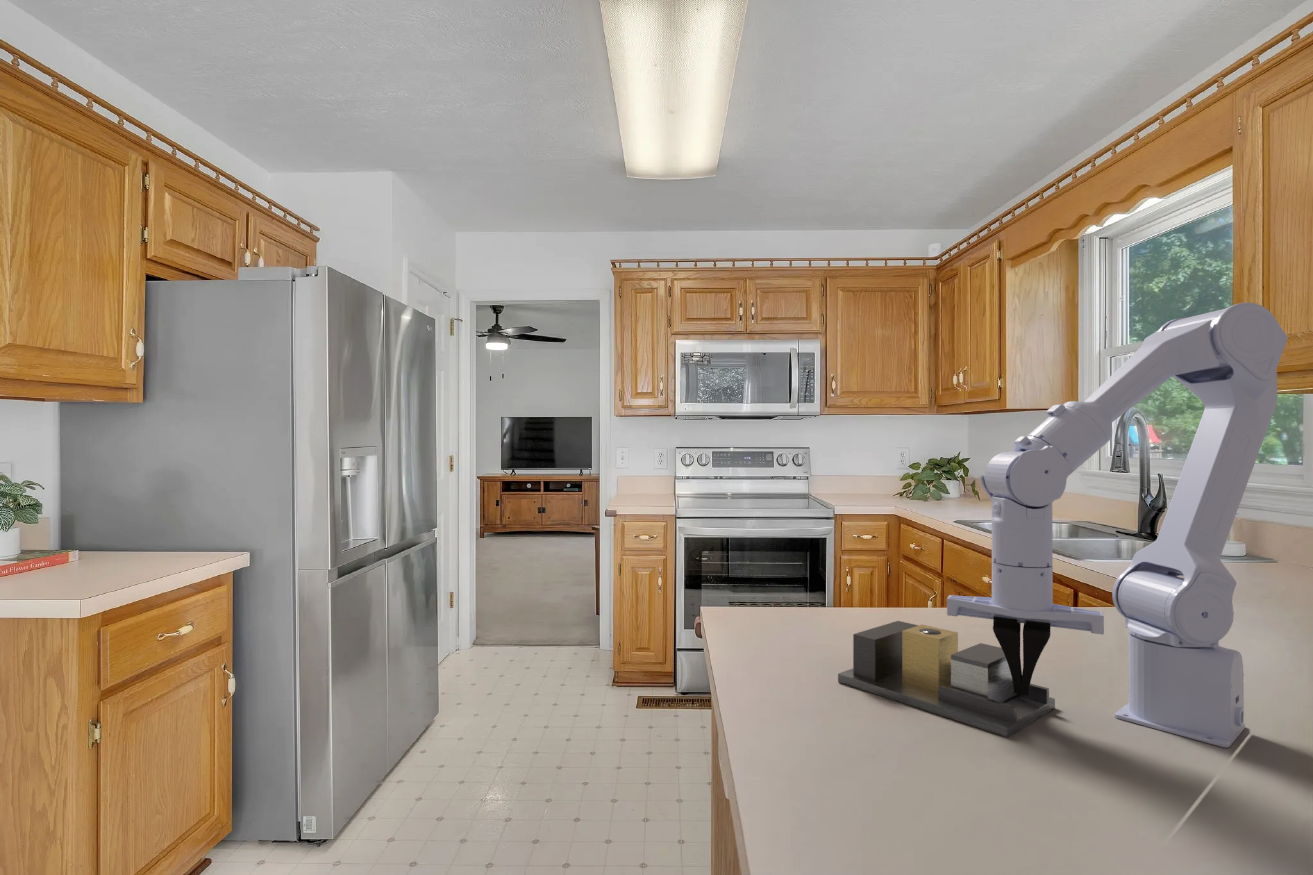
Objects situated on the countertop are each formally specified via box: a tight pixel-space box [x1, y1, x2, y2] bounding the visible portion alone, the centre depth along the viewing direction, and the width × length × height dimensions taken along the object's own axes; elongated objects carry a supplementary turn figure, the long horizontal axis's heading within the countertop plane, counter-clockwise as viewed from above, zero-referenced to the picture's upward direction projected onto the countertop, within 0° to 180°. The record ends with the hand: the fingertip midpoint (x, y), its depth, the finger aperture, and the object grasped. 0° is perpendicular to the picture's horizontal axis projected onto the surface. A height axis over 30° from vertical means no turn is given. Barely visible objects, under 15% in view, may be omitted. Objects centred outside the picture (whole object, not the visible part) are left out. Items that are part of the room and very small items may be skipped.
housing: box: [902, 624, 959, 692], centre depth 79 cm, size 4×4×6 cm
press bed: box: [837, 620, 1056, 738], centre depth 78 cm, size 20×12×6 cm, turn 39°
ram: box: [951, 642, 1017, 702], centre depth 74 cm, size 4×7×5 cm, turn 129°
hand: (1021, 691), depth 71 cm, fingers closed
